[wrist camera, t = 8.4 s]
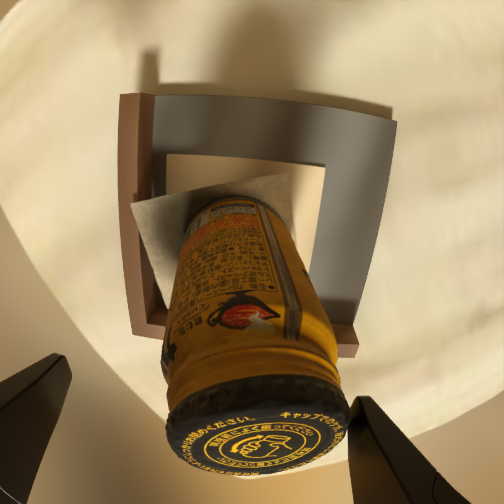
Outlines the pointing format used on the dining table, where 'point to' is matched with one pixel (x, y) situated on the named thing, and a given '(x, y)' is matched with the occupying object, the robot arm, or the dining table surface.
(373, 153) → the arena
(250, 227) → the condiment
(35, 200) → the dining table surface
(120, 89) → the dining table surface
